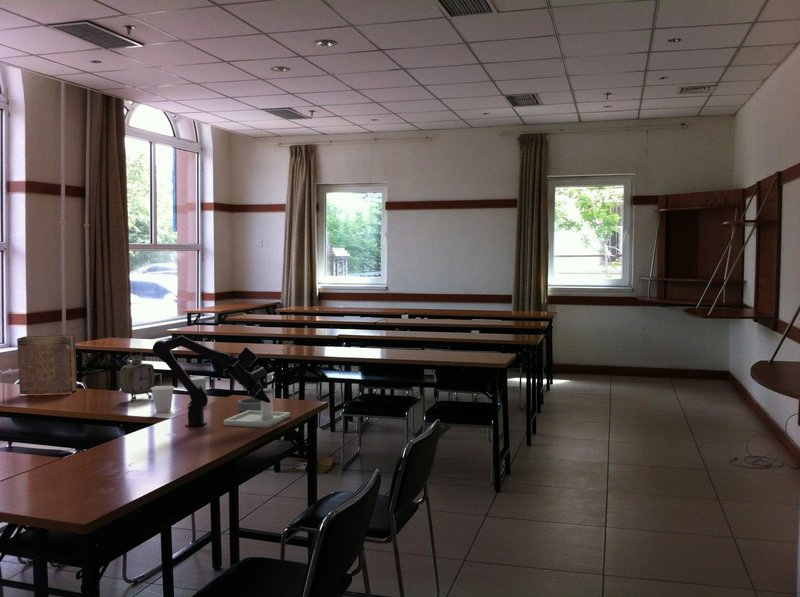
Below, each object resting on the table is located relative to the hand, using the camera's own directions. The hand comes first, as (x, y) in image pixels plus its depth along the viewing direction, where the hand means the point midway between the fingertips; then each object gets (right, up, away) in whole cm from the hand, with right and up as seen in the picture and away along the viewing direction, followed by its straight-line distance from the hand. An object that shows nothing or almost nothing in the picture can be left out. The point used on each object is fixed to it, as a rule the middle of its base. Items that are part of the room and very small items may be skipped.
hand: (268, 400), depth 294 cm
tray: (-4, -9, -2) cm, 10 cm away
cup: (-51, -8, +20) cm, 55 cm away
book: (-127, -7, +70) cm, 145 cm away
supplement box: (-40, -8, +35) cm, 54 cm away
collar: (-11, -7, +22) cm, 26 cm away
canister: (-1, -8, 0) cm, 8 cm away
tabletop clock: (-73, -7, +49) cm, 89 cm away
